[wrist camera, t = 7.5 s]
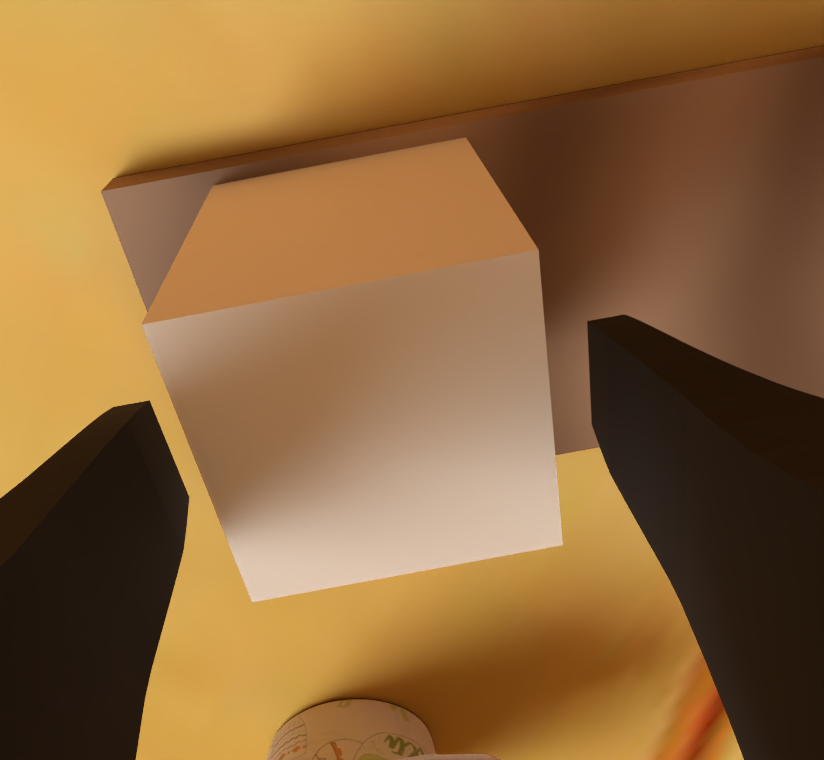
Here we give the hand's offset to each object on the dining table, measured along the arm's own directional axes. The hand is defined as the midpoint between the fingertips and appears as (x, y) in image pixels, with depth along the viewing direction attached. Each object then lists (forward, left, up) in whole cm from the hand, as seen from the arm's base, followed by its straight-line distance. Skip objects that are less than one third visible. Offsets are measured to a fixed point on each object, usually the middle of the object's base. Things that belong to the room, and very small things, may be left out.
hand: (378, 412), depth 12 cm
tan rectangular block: (0, 0, -6) cm, 6 cm away
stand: (-4, +1, -7) cm, 8 cm away
